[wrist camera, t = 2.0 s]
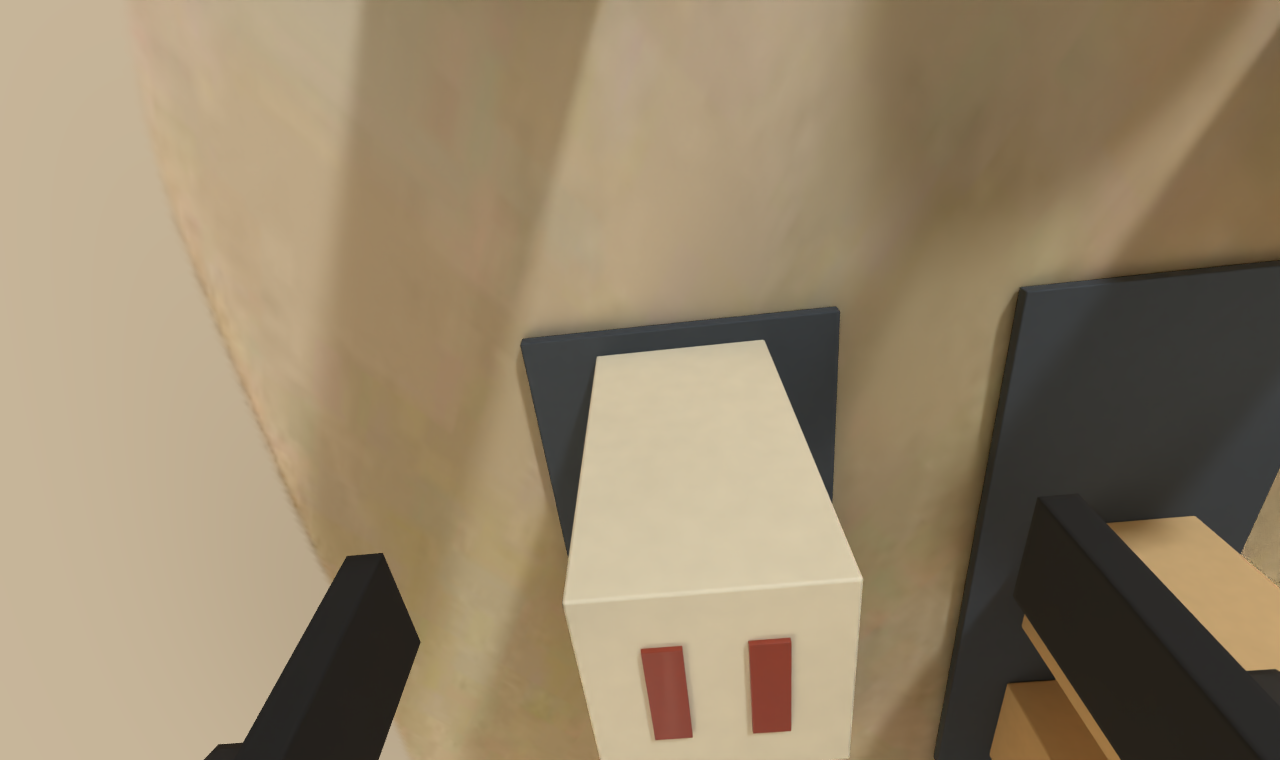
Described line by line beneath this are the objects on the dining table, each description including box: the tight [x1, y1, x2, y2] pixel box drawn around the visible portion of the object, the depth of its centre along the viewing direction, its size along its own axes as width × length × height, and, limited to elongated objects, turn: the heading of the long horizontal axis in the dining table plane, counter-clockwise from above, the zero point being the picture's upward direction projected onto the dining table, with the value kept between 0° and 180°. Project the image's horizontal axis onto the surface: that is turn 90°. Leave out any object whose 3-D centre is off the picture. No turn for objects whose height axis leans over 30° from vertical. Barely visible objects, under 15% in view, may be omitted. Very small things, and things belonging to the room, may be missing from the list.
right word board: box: [934, 260, 1280, 760], centre depth 18 cm, size 22×9×10 cm, turn 6°
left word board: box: [521, 307, 840, 557], centre depth 19 cm, size 22×9×10 cm, turn 6°
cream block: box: [562, 340, 863, 760], centre depth 15 cm, size 5×5×9 cm
